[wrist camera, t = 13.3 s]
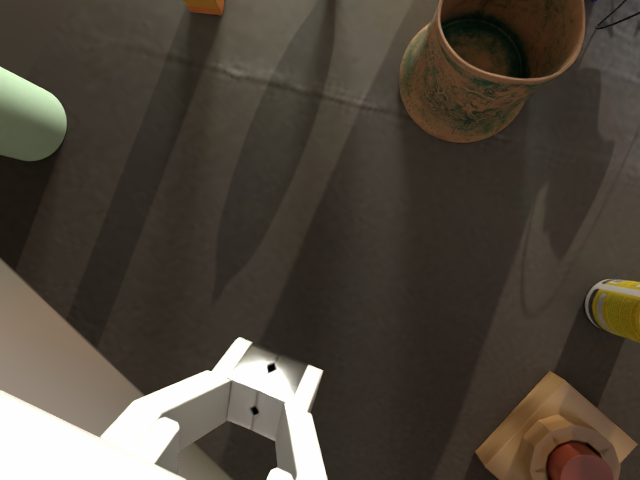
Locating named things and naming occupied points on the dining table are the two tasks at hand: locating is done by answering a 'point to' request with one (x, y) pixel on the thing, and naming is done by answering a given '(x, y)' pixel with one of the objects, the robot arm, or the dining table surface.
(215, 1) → the supplement box
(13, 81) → the spray bottle
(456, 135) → the mug
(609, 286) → the supplement bottle
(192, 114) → the dining table surface
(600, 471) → the button
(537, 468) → the button block
